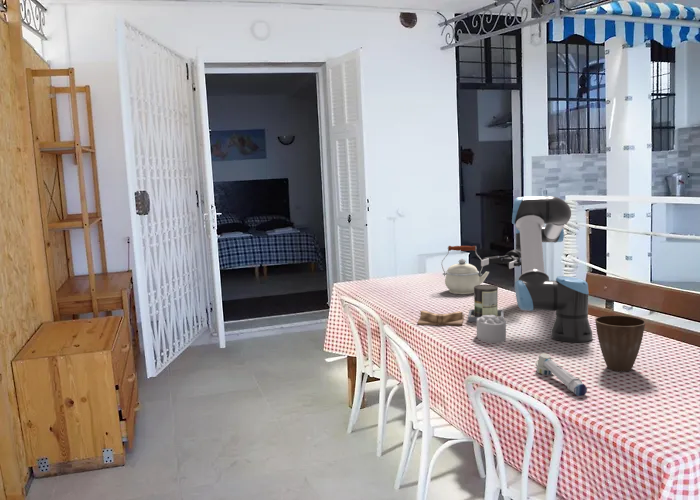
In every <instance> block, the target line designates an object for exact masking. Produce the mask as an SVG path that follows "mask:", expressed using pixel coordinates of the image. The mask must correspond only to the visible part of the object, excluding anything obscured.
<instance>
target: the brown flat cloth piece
mask: <svg viewBox="0 0 700 500" xmlns="http://www.w3.org/2000/svg"><path fill="white" fill-rule="evenodd" d="M463 312H464V311H460V310H459V311H458V310H457V311H455V312H449V313H448V312H447V313H434V312H431V311H427V310H420V313H419V314H420V317H419V319H418V321H417V323H416V324H418V325H419V326H446V325H451V326H450V327H452V326H453V327H455V326H456V327H463V324H464V321H465V314H463Z"/></svg>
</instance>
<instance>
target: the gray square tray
mask: <svg viewBox="0 0 700 500" xmlns="http://www.w3.org/2000/svg"><path fill="white" fill-rule="evenodd" d="M467 315H468V316H467V322H468V323H469V322H470V323H477V318H479V317H474V316H472V315H474V309H470V308H469V310H468V314H467ZM498 316H502V317H503V318H504V310H503V309H498ZM504 319H505V318H504Z"/></svg>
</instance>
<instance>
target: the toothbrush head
mask: <svg viewBox="0 0 700 500" xmlns="http://www.w3.org/2000/svg"><path fill="white" fill-rule="evenodd" d="M535 367H536V372H537V373H538V374H541V375H545V376H548V375H552V374H553V375H554V376H555V377H556V378H557V379H558V380H559V381H560V382H561V383H562V384H564V386H566V387H567V390H569V392H571V393H573V394H574V395H576V396H577V397H582V396H586V394H587V393H588V387H587V385H585V384H584V383H583V381H582V380H581V379H580V378H578V377H575V376H574V375H572V374H571V373H570V372H569V371H567V370H565V368H563V367H561V366H560V365H559V364H558V363H556V362H555V361H553V360H552V357H551V355H550V354H549V353H544V352H543V353H539V356H538V359H537V360H536V361H535Z"/></svg>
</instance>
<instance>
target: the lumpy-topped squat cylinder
mask: <svg viewBox="0 0 700 500" xmlns="http://www.w3.org/2000/svg"><path fill="white" fill-rule="evenodd" d="M503 317H504V316H503ZM503 317H502V316H501V315H498V317H497V316H495V315H483V316H481V317H479V318H477V322H476V338H477V339H478V340H479V341H482V342H484V343H489V344H500V343H501V344H502V343H504V342H505V341H506V340H507V322H506V320H505V318H503Z"/></svg>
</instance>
